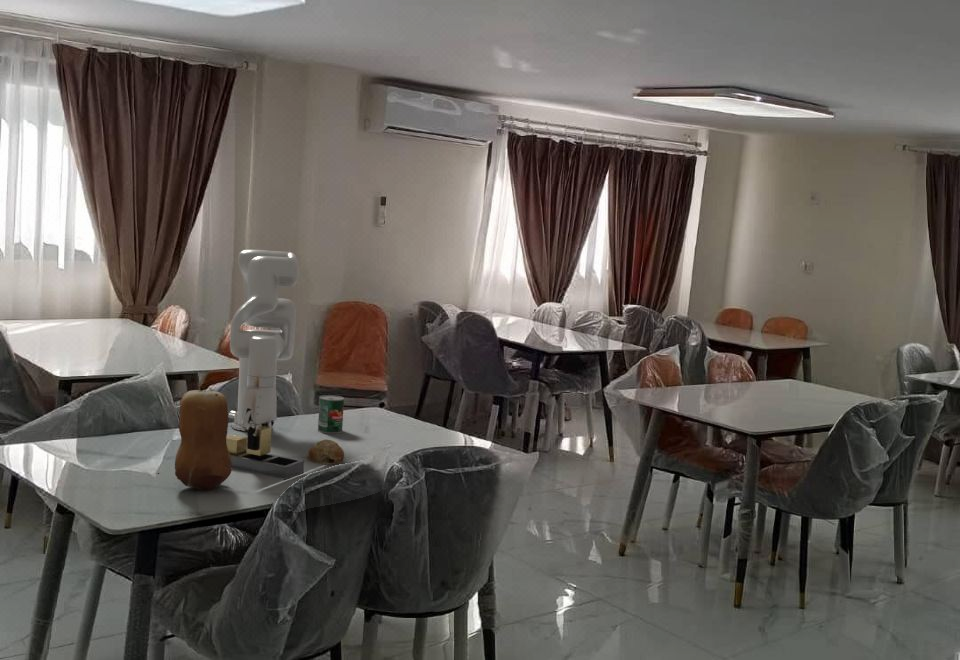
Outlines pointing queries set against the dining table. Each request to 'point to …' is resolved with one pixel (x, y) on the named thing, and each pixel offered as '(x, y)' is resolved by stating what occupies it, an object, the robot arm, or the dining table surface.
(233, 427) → the robot arm
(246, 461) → the grey compartment tray
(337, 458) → the bread roll
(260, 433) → the tan cubic block
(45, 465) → the dining table surface
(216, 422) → the butternut squash
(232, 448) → the khaki cardboard box
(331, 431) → the canned tomato
